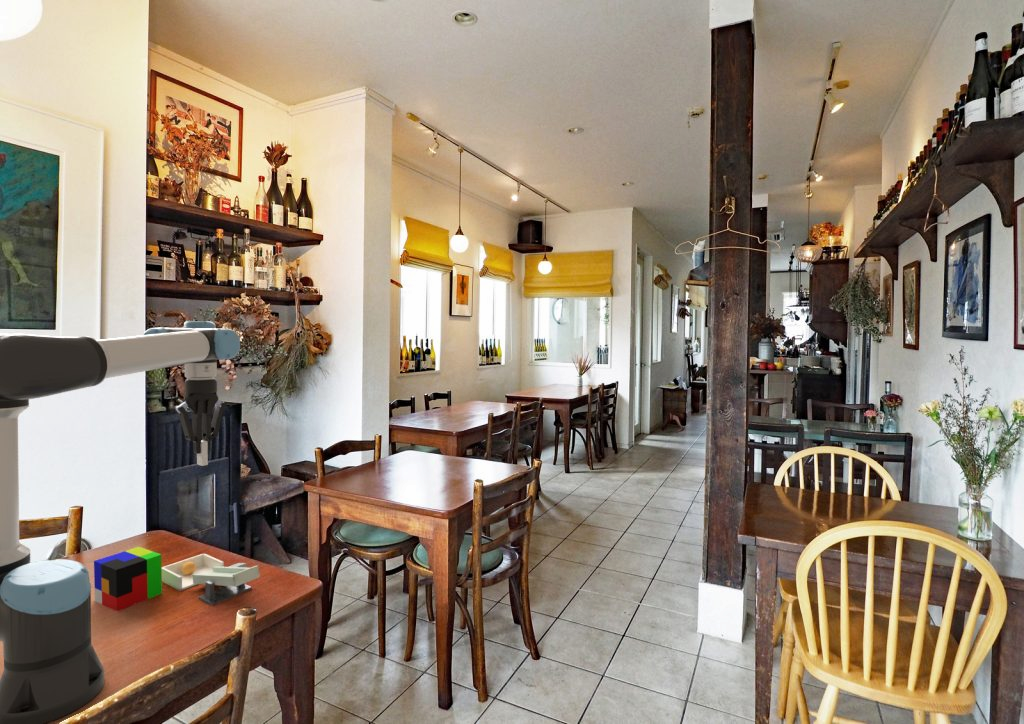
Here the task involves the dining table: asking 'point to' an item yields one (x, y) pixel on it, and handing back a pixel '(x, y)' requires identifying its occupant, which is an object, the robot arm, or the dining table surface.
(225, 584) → the lever
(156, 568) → the puzzle toy
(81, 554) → the dining table surface
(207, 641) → the dining table surface
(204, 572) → the tray
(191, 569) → the ball
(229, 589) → the fulcrum
